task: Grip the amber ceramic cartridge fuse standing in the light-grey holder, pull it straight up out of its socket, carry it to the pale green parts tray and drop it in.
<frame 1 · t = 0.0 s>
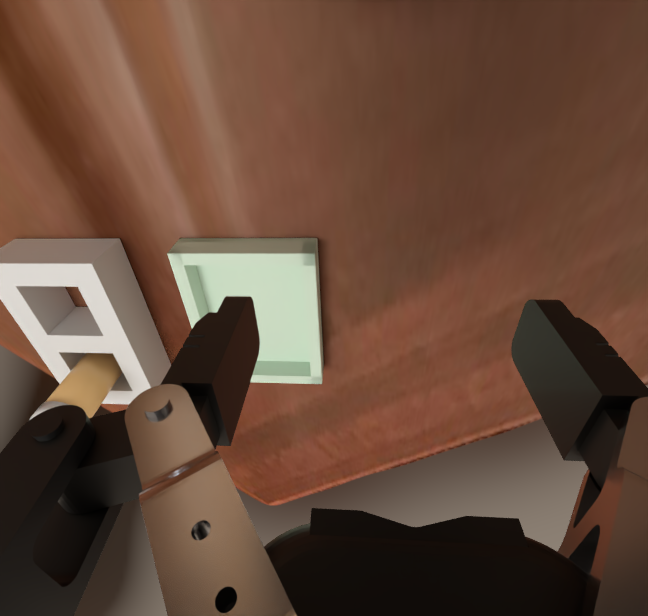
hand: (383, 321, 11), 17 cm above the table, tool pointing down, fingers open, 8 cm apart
parts tray: (260, 308, 33), on the table
fuse: (119, 342, 37), resting in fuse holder
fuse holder: (105, 315, 35), on the table
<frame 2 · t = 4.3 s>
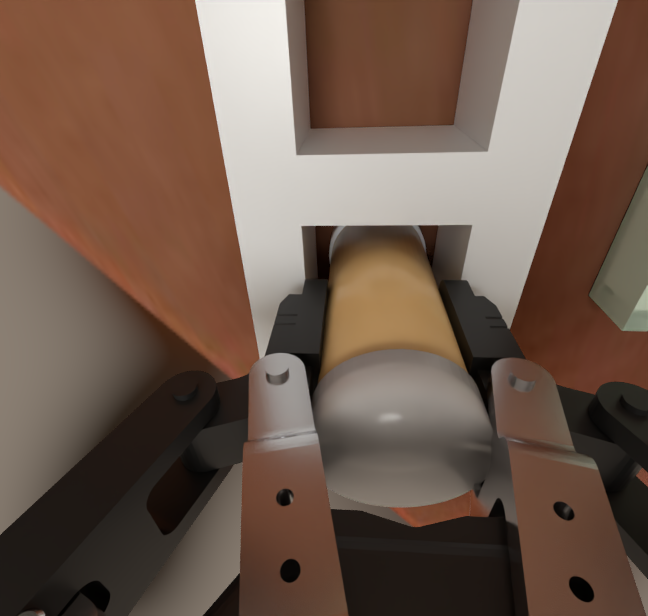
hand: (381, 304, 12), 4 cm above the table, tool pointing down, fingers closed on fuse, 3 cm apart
fuse: (375, 243, 16), resting in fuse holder, touching gripper
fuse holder: (379, 156, 14), on the table
when the fingers open (6 cm above the table, at t = 9.9 s): fuse drops 1 cm, resting on parts tray.
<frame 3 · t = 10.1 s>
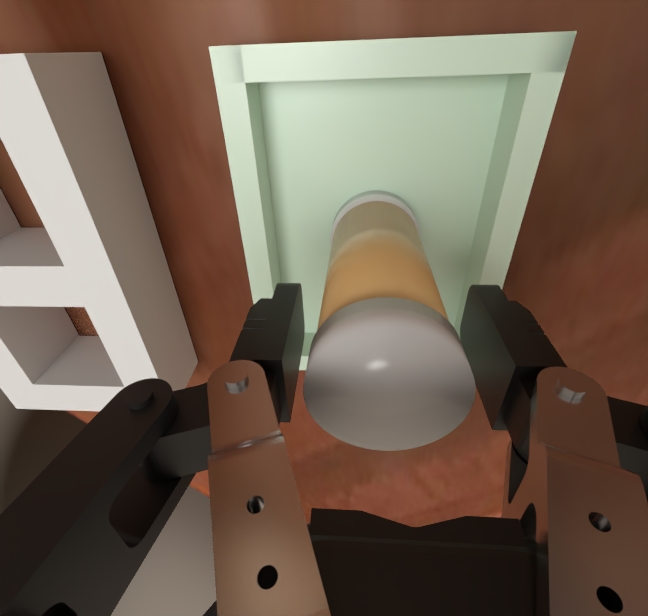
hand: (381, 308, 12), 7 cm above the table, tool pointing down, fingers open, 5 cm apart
parts tray: (372, 225, 17), on the table
fuse: (374, 232, 17), point 1 cm above the table, touching parts tray
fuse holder: (76, 245, 19), on the table
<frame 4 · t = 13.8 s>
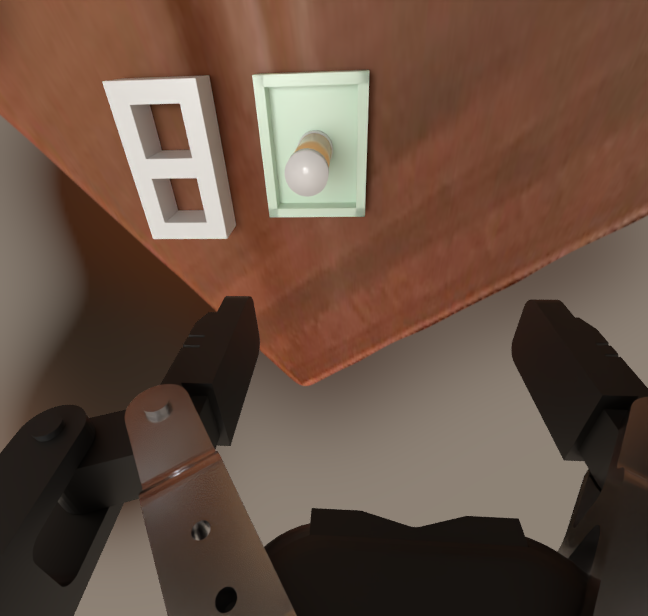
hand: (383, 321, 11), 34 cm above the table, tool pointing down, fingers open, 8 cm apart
parts tray: (315, 147, 40), on the table
fuse: (315, 149, 40), point 1 cm above the table, touching parts tray
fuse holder: (185, 159, 42), on the table
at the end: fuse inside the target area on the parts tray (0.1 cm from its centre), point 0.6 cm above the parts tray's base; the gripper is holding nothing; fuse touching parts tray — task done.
